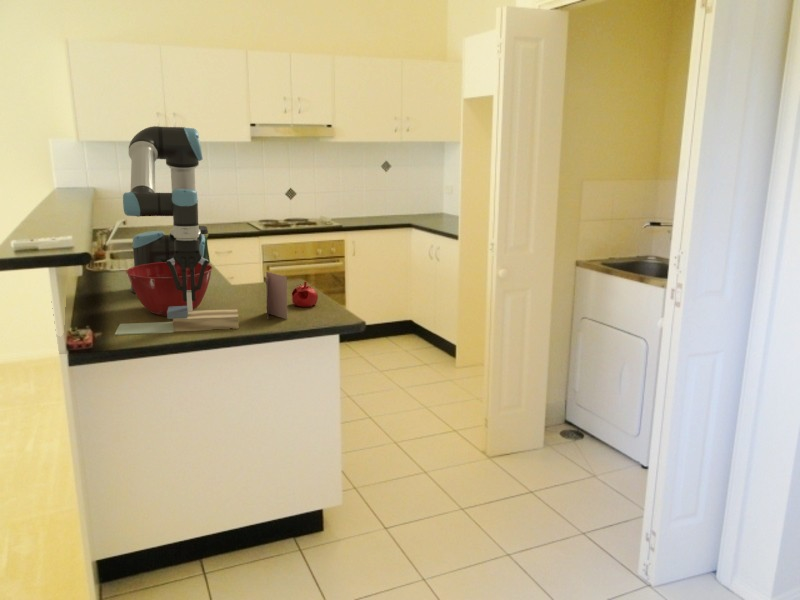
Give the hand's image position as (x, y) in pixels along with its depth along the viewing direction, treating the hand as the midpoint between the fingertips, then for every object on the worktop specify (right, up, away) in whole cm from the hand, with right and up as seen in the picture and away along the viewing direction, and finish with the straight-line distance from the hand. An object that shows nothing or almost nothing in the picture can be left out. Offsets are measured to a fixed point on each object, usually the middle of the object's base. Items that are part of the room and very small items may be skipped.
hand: (190, 310), depth 204 cm
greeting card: (+25, -3, +16) cm, 30 cm away
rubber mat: (-13, -6, -3) cm, 15 cm away
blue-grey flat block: (-4, -1, -1) cm, 4 cm away
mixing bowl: (-12, -1, +19) cm, 23 cm away
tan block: (+5, -5, +3) cm, 7 cm away
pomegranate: (+32, +1, +34) cm, 46 cm away
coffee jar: (-30, +21, +104) cm, 110 cm away
